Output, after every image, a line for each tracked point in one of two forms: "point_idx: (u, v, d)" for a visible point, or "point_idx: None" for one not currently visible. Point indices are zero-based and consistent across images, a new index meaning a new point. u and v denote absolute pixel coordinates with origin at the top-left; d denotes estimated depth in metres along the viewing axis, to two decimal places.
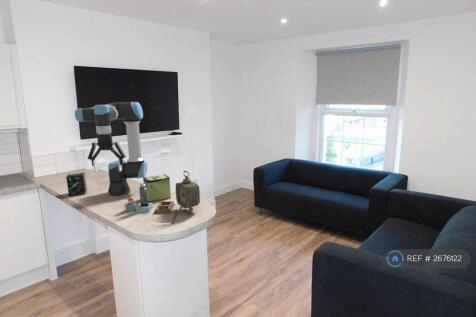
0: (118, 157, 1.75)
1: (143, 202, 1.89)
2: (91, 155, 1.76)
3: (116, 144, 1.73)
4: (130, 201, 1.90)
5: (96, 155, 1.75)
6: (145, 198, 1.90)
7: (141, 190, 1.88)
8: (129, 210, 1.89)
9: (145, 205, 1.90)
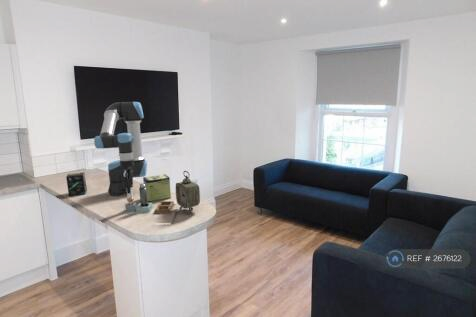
0: None
1: (143, 202, 1.89)
2: None
3: (122, 175, 1.82)
4: (130, 202, 1.90)
5: None
6: (145, 198, 1.90)
7: (141, 190, 1.88)
8: (129, 210, 1.89)
9: (145, 205, 1.90)
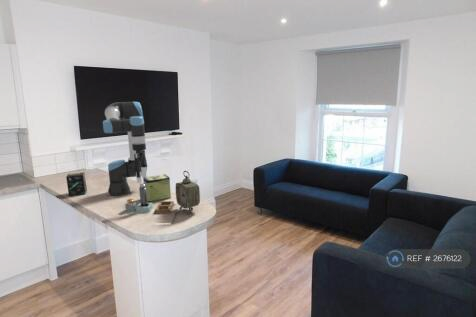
0: None
1: (143, 202, 1.89)
2: (145, 162, 1.94)
3: (134, 156, 1.79)
4: (130, 204, 1.90)
5: (141, 162, 1.91)
6: (145, 198, 1.90)
7: (141, 190, 1.88)
8: (129, 210, 1.89)
9: (145, 205, 1.90)
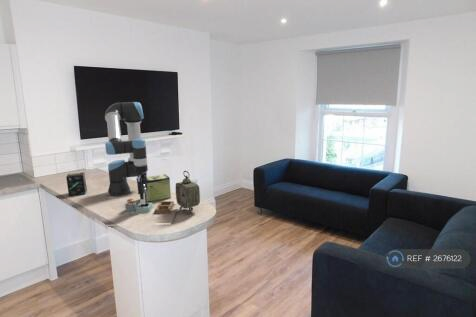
0: None
1: None
2: None
3: None
4: (130, 204, 1.90)
5: None
6: (145, 198, 1.90)
7: None
8: (129, 210, 1.89)
9: (145, 205, 1.90)
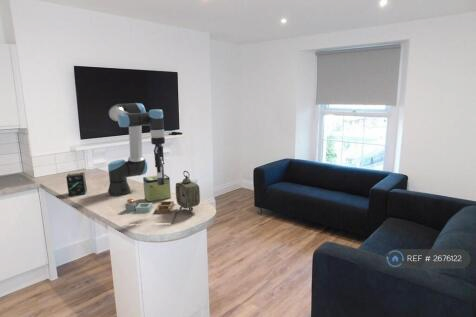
0: None
1: None
2: None
3: (154, 152, 1.76)
4: (130, 204, 1.90)
5: None
6: (162, 172, 1.83)
7: None
8: (129, 210, 1.89)
9: (162, 179, 1.84)
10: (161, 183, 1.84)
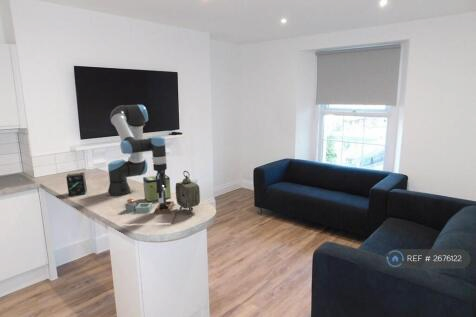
0: None
1: (162, 203, 1.87)
2: (165, 182, 1.93)
3: (156, 177, 1.79)
4: (130, 204, 1.90)
5: (161, 183, 1.90)
6: (164, 199, 1.87)
7: None
8: (129, 210, 1.89)
9: (164, 206, 1.88)
10: None
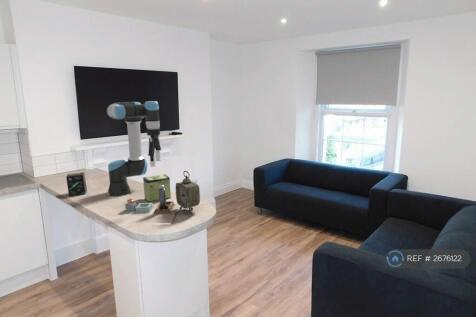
0: None
1: (162, 203, 1.87)
2: (159, 146, 1.95)
3: (149, 140, 1.79)
4: (130, 204, 1.90)
5: (155, 146, 1.92)
6: (164, 199, 1.87)
7: (160, 191, 1.85)
8: (129, 210, 1.89)
9: (164, 206, 1.88)
10: None
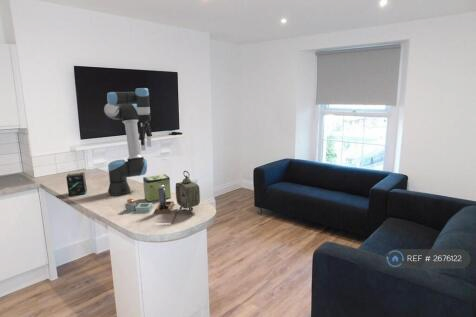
0: None
1: (162, 203, 1.87)
2: (150, 132, 2.03)
3: None
4: (130, 204, 1.90)
5: (146, 132, 2.00)
6: (164, 199, 1.87)
7: (160, 191, 1.85)
8: (129, 210, 1.89)
9: (164, 206, 1.88)
10: None
